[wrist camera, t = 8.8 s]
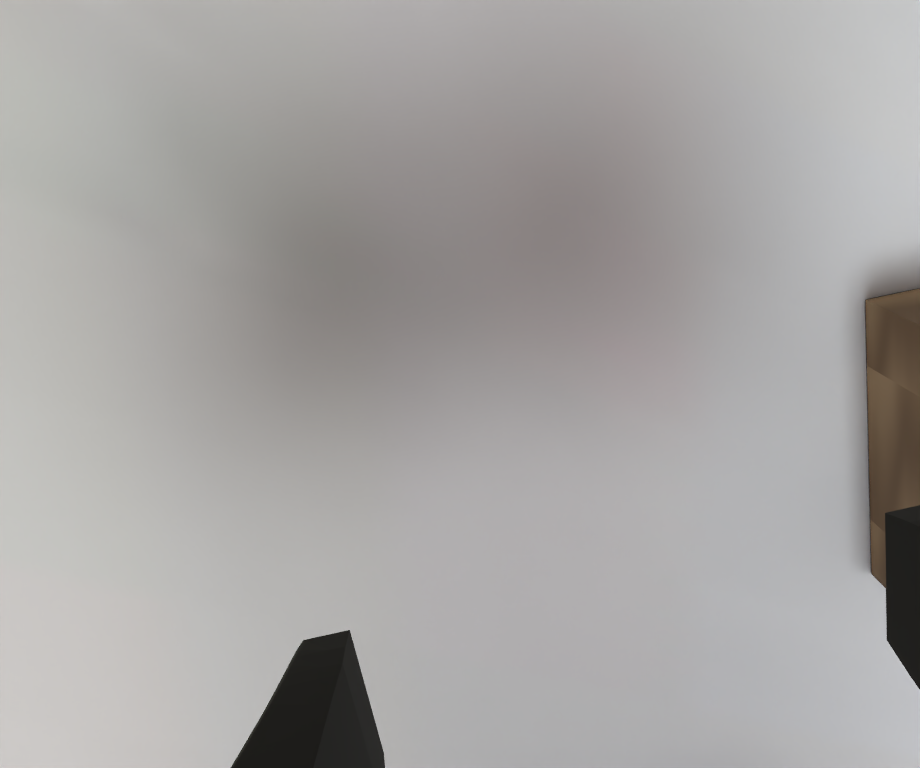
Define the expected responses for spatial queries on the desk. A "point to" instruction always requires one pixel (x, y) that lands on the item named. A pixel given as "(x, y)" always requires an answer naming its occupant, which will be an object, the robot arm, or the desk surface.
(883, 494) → the hole block
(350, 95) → the desk surface
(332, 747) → the robot arm
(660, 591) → the desk surface
